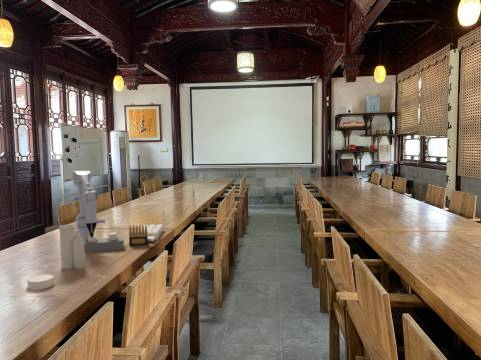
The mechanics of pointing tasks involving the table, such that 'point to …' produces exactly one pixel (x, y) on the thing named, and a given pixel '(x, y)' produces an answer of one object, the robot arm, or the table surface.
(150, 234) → the organizer
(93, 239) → the peg left
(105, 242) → the block
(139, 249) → the table surface
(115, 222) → the table surface
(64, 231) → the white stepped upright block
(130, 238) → the ammunition clip
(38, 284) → the coaster
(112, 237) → the peg right
